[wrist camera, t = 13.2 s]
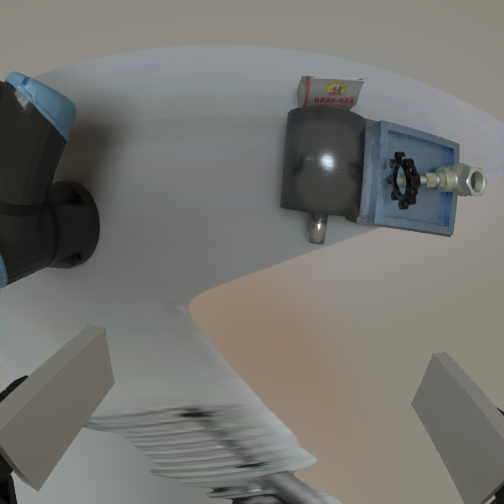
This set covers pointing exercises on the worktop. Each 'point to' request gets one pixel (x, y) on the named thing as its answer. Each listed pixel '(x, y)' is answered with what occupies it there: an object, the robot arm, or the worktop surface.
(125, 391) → the worktop surface
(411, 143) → the motor
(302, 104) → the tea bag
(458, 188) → the valve
